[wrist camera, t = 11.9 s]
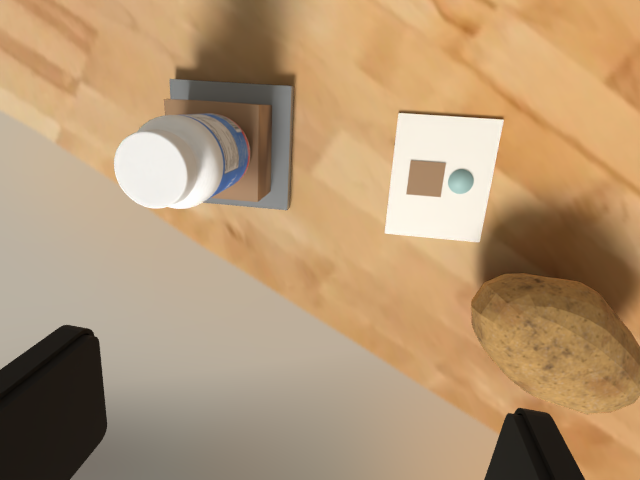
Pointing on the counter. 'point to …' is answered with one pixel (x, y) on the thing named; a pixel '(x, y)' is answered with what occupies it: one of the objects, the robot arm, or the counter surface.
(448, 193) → the page
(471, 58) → the counter surface
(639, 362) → the potato
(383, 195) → the counter surface
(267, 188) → the brown square block
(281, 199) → the baseplate
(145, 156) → the pill bottle
